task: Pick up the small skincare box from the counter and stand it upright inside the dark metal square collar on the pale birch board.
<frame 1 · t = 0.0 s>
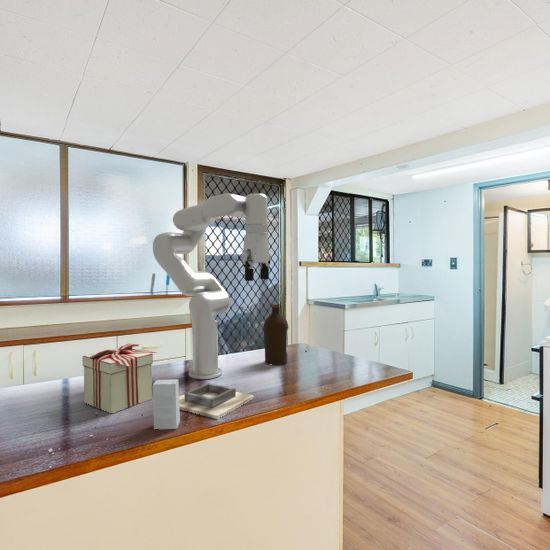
hand: (257, 280, 133), 37 cm above the table, tool pointing down, fingers open, 9 cm apart
olive oil: (276, 362, 163), on the table
skincare box: (166, 427, 102), on the table
gift box: (123, 402, 119), on the table
holder board: (210, 402, 119), on the table
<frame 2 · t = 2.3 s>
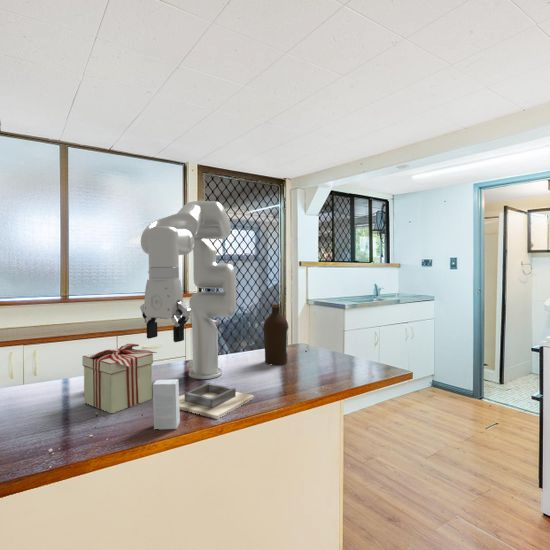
hand: (165, 339, 101), 23 cm above the table, tool pointing down, fingers open, 9 cm apart
nothing on the table moved.
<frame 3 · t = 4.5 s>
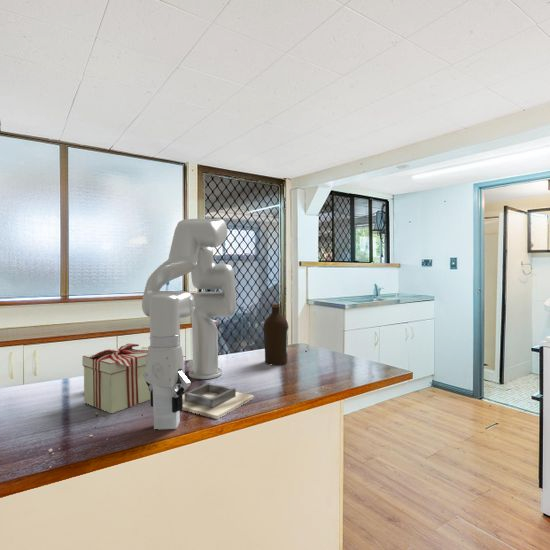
hand: (166, 407, 101), 5 cm above the table, tool pointing down, fingers closed on skincare box, 7 cm apart
skincare box: (166, 426, 102), on the table, touching gripper
everything else where it was.
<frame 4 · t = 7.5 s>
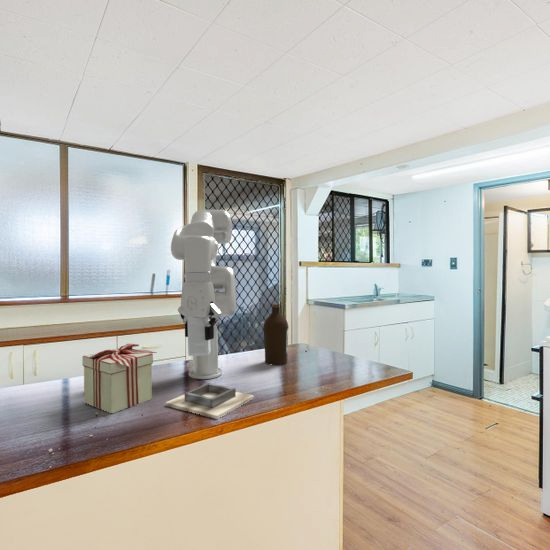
hand: (199, 337, 114), 21 cm above the table, tool pointing down, fingers closed on skincare box, 7 cm apart
skincare box: (199, 354, 114), point 16 cm above the table, touching gripper
everything else where it was.
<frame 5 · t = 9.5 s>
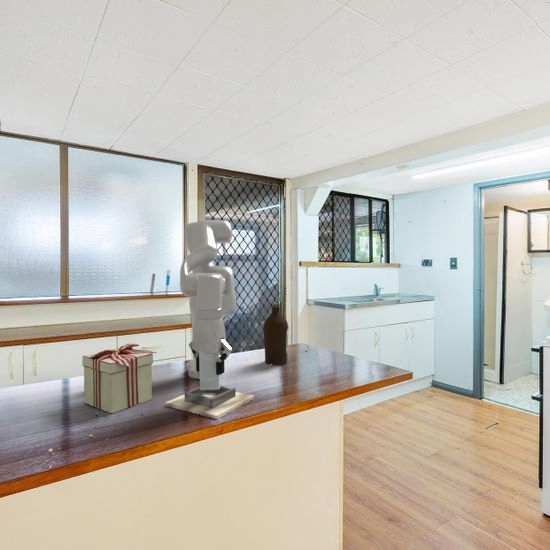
hand: (210, 371, 118), 9 cm above the table, tool pointing down, fingers closed on skincare box, 7 cm apart
skincare box: (210, 388, 118), point 4 cm above the table, touching gripper
everything else where it was.
when the fingers open (7 cm above the table, at t = 10.9 s): skincare box stays where it is, resting on holder board.
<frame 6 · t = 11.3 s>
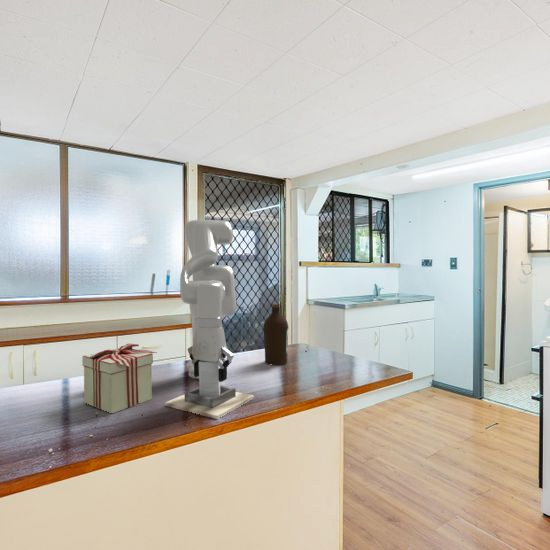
hand: (210, 378, 118), 8 cm above the table, tool pointing down, fingers open, 9 cm apart
skincare box: (210, 399, 119), point 1 cm above the table, touching holder board
everything else where it was.
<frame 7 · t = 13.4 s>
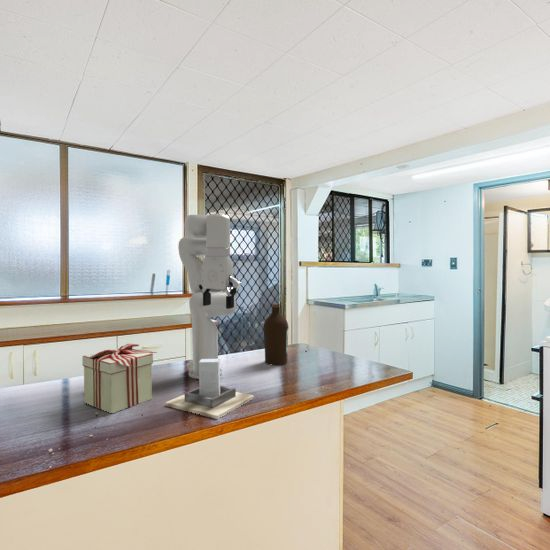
hand: (218, 306, 124), 29 cm above the table, tool pointing down, fingers open, 9 cm apart
nothing on the table moved.
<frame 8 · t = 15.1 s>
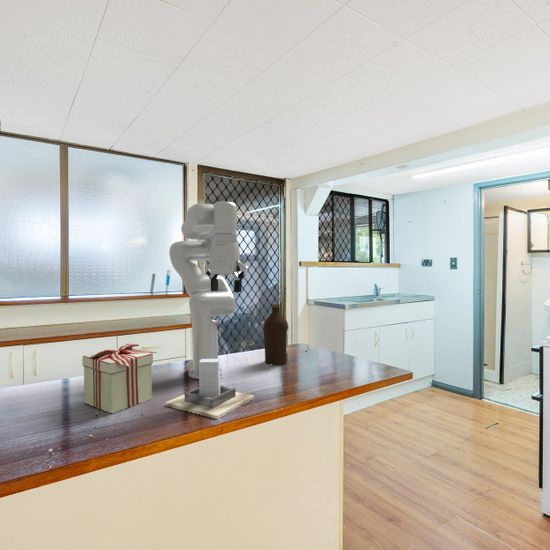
hand: (226, 291, 128), 33 cm above the table, tool pointing down, fingers open, 9 cm apart
nothing on the table moved.
at the end: skincare box 0.4 cm off-centre on the holder board, point 0.8 cm above the holder board's base; skincare box tilted 0°; the gripper is holding nothing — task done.
